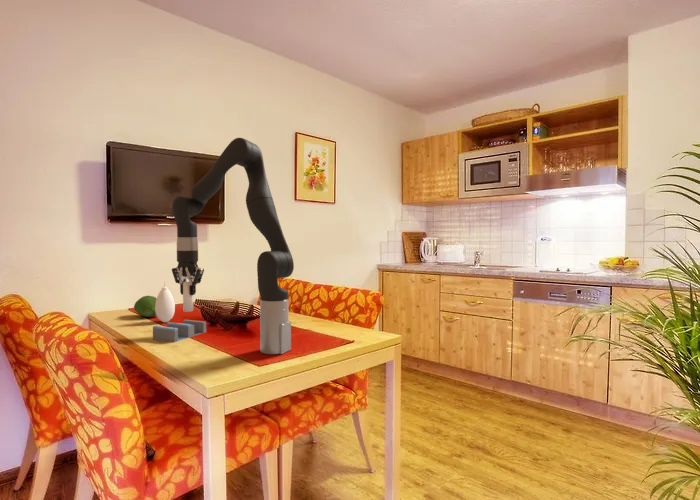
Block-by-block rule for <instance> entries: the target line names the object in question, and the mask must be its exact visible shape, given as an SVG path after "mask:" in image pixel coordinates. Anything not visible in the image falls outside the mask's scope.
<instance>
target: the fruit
mask: <svg viewBox="0 0 700 500" xmlns="http://www.w3.org/2000/svg"><path fill="white" fill-rule="evenodd" d="M156 299H157V297H156V296H153V295H145V296H142V297H141V298H138V300H137V301H136V302H135V303H134V305H133V310H134V311H135V312H136V313H137V314H138V315H140V316H141V317H144V318H153V317H157V316H156V312H155V304H156Z"/></svg>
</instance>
